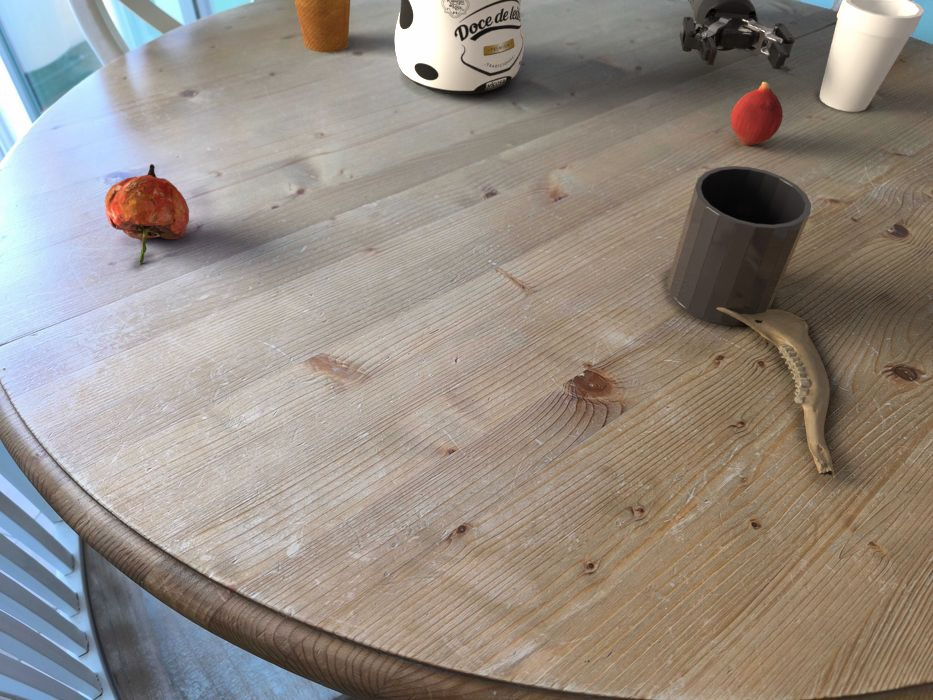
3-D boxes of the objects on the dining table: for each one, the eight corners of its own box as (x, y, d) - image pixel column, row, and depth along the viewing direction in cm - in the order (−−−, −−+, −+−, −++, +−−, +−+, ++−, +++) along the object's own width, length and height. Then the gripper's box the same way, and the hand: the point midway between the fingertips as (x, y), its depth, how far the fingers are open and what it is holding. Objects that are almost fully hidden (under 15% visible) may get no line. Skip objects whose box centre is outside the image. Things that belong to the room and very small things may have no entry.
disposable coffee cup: (283, 39, 111) (271, -49, 102) (341, 27, 115) (334, -58, 106) (310, 63, 105) (300, -28, 97) (370, 50, 109) (366, -39, 101)
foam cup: (794, 98, 103) (830, 0, 94) (828, 81, 108) (865, -15, 99) (858, 125, 98) (903, 24, 89) (891, 105, 103) (936, 7, 94)
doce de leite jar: (505, 114, 96) (517, -36, 84) (378, 94, 99) (371, -55, 87) (532, 61, 108) (546, -77, 96) (418, 44, 111) (417, -92, 99)
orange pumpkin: (193, 278, 74) (213, 182, 75) (147, 256, 67) (170, 151, 68) (127, 271, 75) (148, 177, 77) (76, 249, 68) (100, 146, 70)
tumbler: (757, 266, 75) (794, 169, 67) (779, 331, 68) (824, 231, 60) (661, 260, 75) (688, 162, 68) (674, 324, 68) (705, 223, 61)
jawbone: (773, 302, 72) (782, 285, 71) (915, 471, 58) (930, 454, 57) (692, 308, 69) (700, 290, 68) (820, 486, 56) (833, 469, 54)
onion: (777, 143, 94) (799, 81, 88) (762, 162, 90) (784, 98, 85) (732, 129, 96) (751, 68, 90) (716, 146, 92) (735, 84, 87)
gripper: (679, -18, 105) (697, 26, 93) (781, -12, 105) (812, 33, 93) (667, 36, 110) (683, 84, 98) (764, 42, 110) (792, 91, 98)
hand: (746, 59), depth 96 cm, fingers open, 8 cm apart
